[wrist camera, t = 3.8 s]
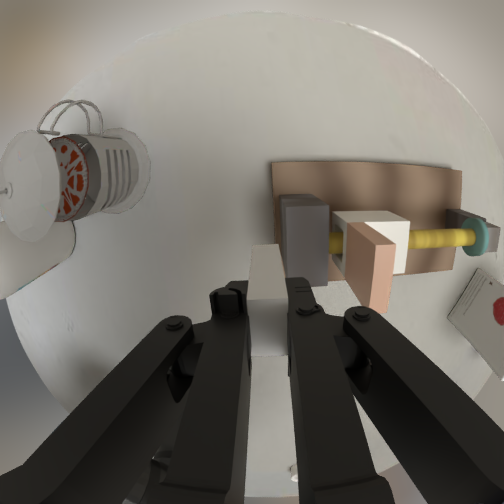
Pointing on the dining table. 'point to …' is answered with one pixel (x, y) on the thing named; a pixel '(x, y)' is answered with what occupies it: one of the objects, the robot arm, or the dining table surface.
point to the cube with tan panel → (371, 253)
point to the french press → (69, 176)
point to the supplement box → (483, 319)
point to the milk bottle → (32, 255)
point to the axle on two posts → (372, 199)
